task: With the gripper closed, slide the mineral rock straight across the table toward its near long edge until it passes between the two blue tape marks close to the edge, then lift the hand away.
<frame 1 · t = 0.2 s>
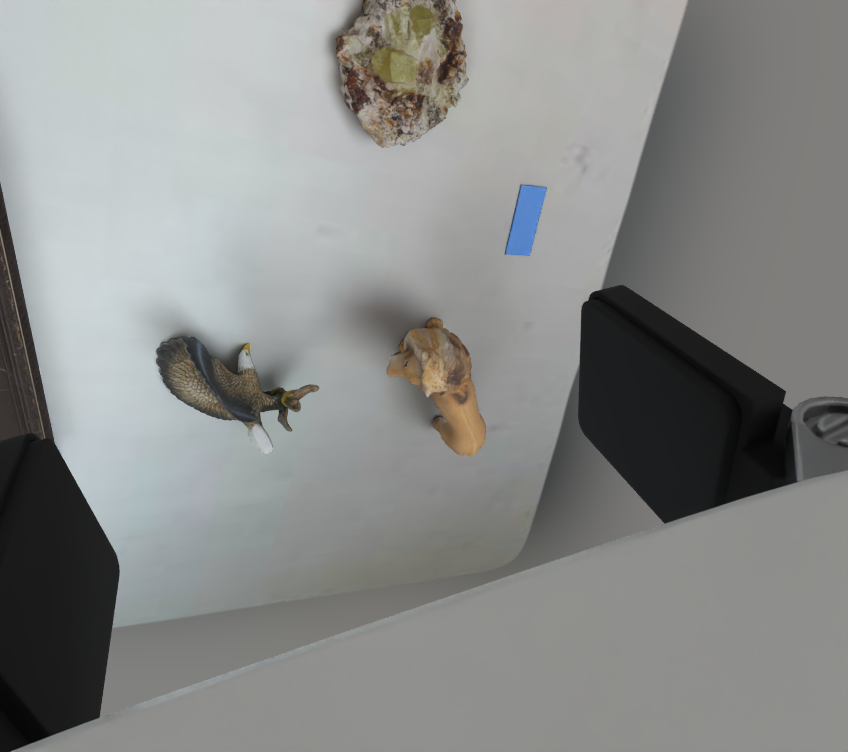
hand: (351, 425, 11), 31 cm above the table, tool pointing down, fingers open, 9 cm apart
eagle figurine: (230, 366, 43), on the table
tape marks: (560, 76, 40), on the table
mineral rock: (401, 47, 37), on the table
lion figurine: (425, 364, 48), on the table
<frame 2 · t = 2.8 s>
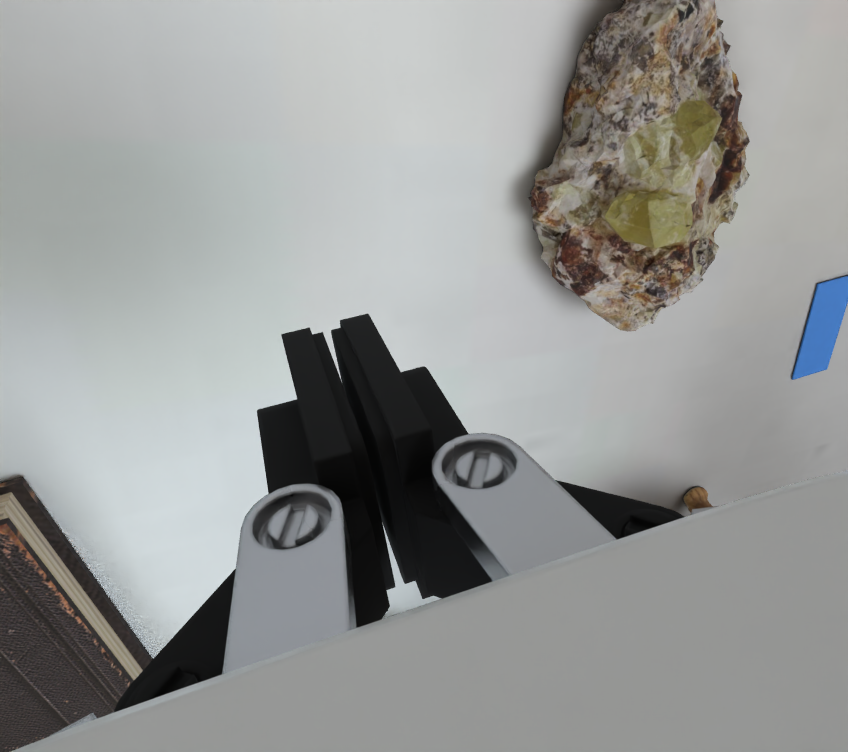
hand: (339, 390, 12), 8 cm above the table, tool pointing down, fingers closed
mineral rock: (628, 158, 21), on the table
lion figurine: (681, 539, 34), on the table
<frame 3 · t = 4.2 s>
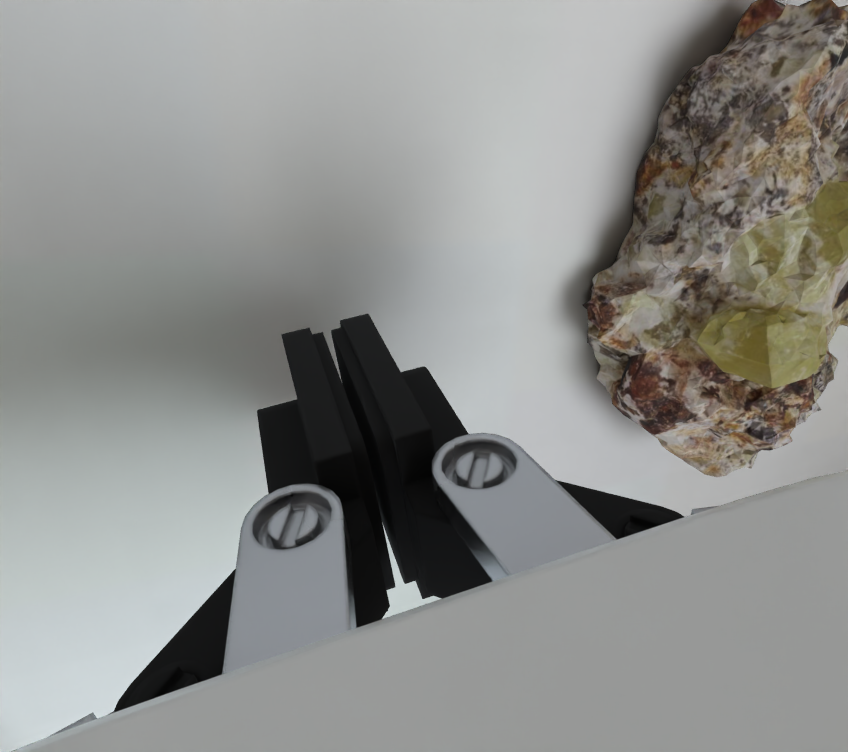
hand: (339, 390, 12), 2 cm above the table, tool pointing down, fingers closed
mineral rock: (717, 244, 15), on the table
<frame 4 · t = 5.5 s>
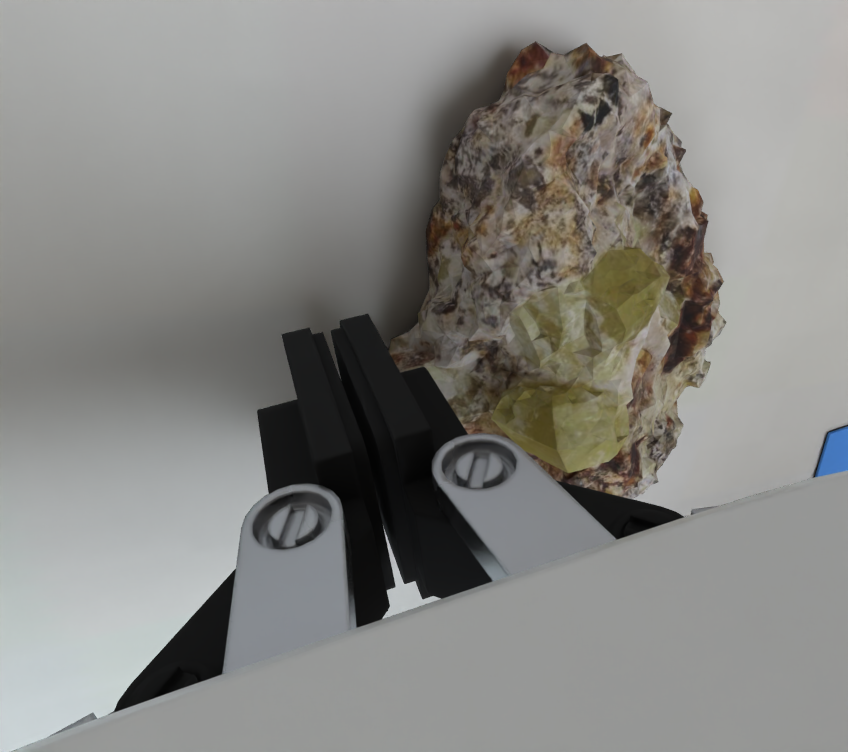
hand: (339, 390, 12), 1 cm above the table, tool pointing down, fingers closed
mineral rock: (543, 302, 14), on the table, touching gripper
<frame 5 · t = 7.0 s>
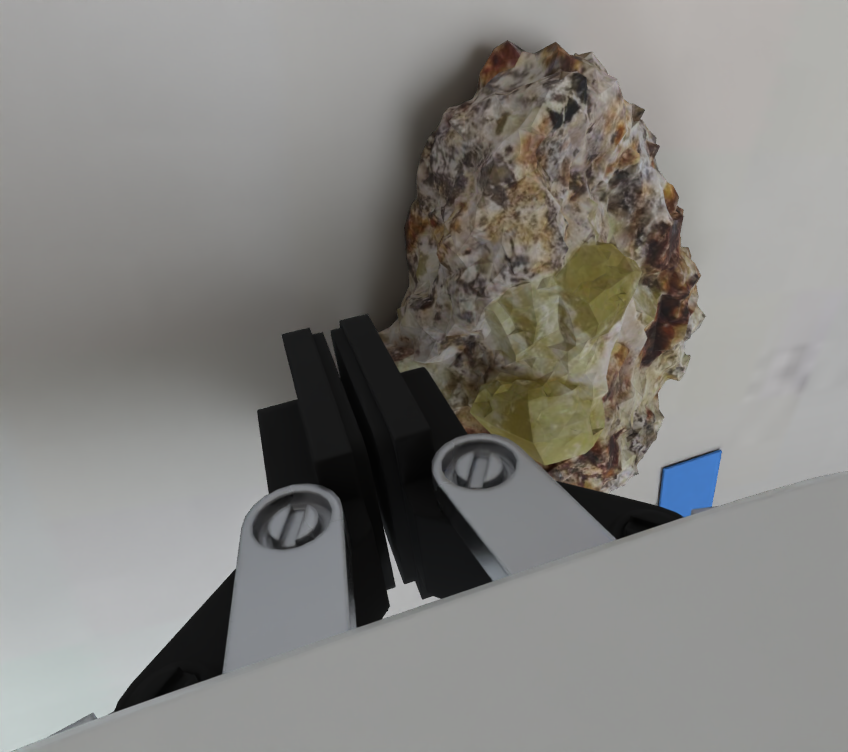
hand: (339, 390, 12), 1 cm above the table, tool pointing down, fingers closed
tape marks: (725, 238, 15), on the table
mineral rock: (523, 297, 14), on the table, touching gripper
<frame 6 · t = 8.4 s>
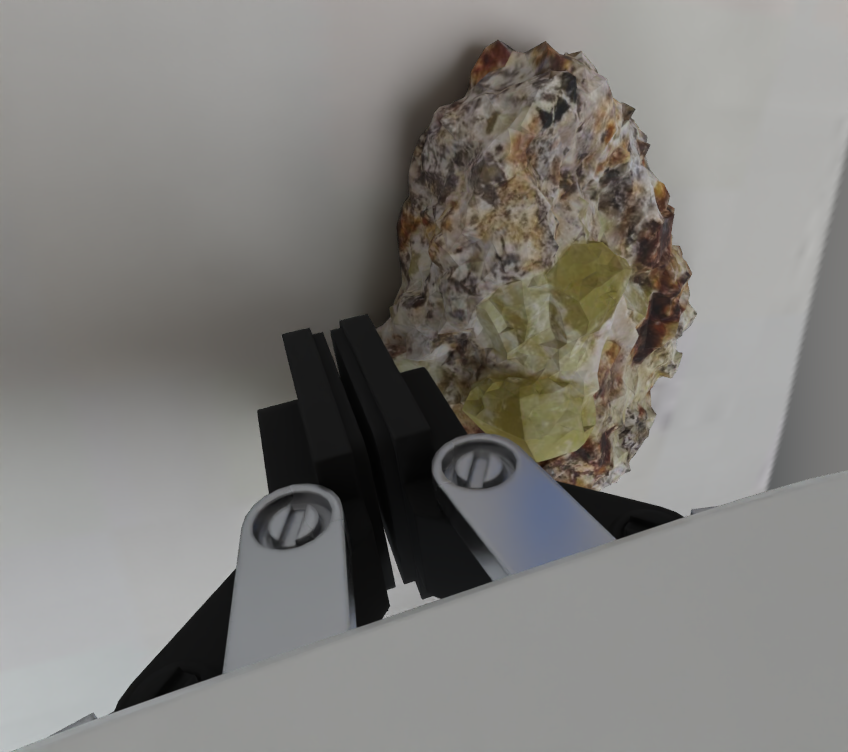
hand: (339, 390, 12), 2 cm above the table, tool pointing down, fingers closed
mineral rock: (516, 295, 14), on the table, touching gripper
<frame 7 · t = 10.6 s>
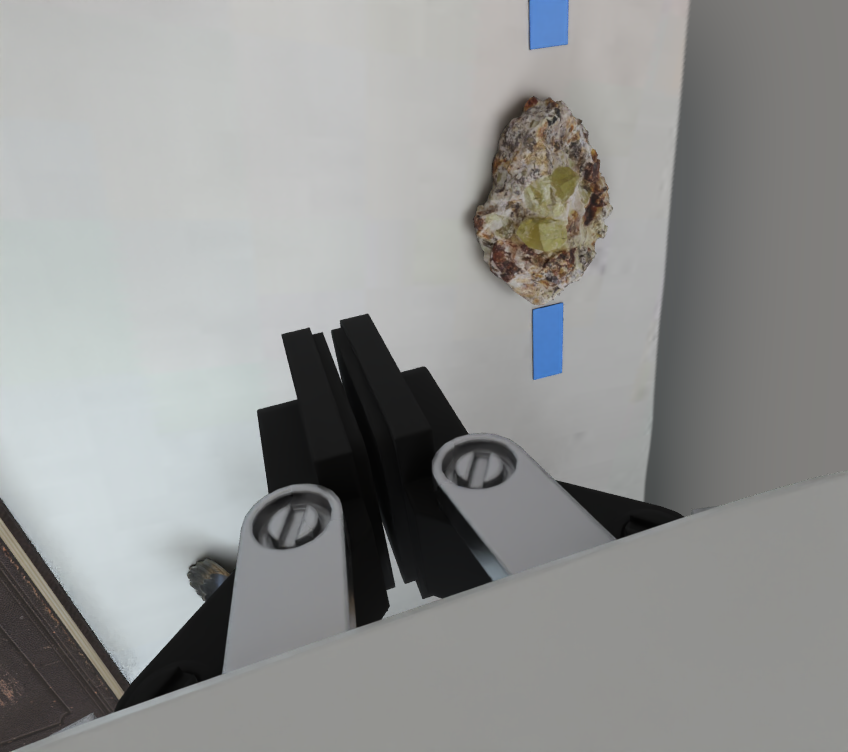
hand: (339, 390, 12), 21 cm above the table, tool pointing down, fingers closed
eagle figurine: (265, 564, 41), on the table
tape marks: (548, 190, 34), on the table
mineral rock: (536, 198, 34), on the table
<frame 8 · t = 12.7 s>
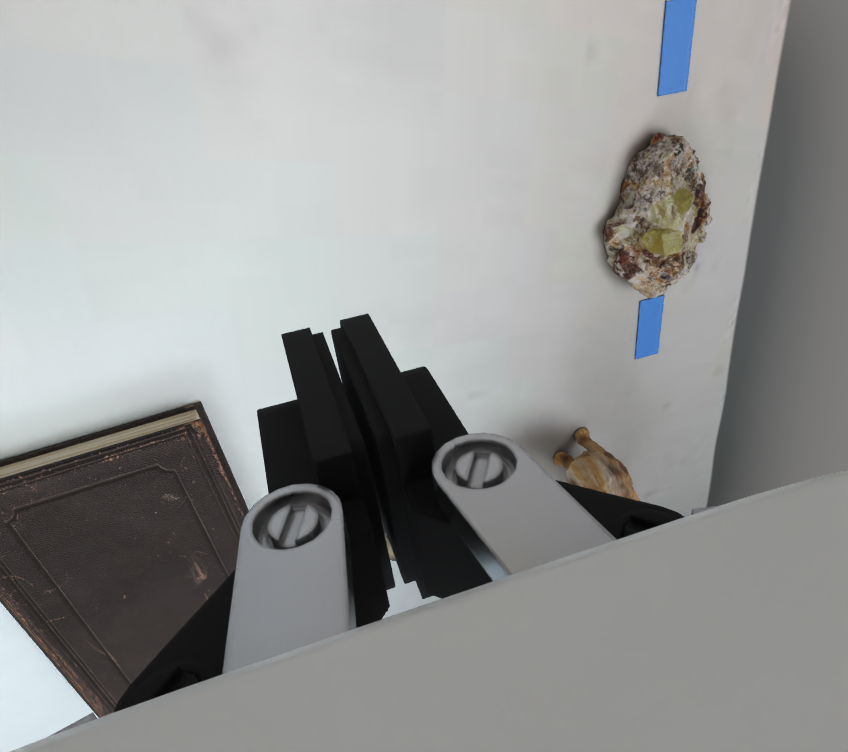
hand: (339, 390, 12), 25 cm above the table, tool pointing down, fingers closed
tape marks: (660, 204, 42), on the table
mineral rock: (651, 211, 42), on the table
hardcover book: (144, 562, 44), on the table
lion figurine: (578, 464, 53), on the table
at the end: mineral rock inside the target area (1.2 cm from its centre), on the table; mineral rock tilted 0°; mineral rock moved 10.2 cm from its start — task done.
